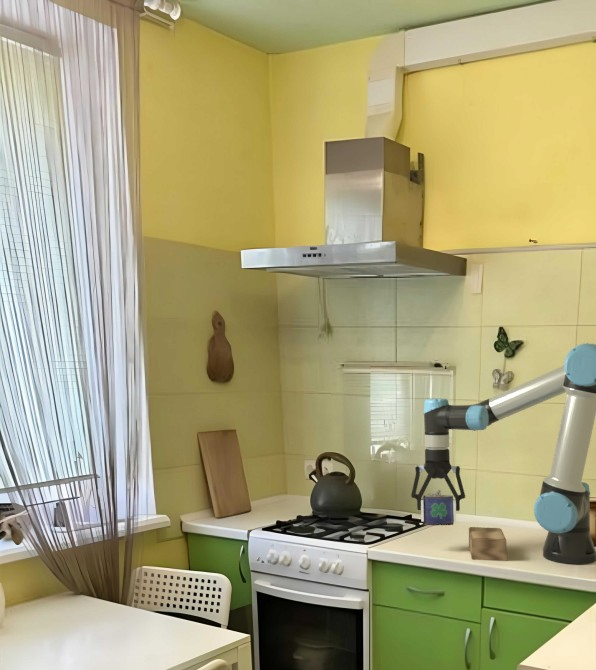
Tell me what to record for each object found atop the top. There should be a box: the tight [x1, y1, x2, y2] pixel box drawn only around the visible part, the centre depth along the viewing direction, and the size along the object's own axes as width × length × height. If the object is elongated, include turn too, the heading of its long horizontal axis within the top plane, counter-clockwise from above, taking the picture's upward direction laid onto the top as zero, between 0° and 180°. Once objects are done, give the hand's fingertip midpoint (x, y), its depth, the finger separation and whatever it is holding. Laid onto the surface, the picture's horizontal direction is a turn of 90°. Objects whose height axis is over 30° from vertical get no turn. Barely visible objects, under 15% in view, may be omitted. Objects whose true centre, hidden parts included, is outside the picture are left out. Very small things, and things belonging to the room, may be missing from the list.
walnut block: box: [468, 526, 508, 562], centre depth 231 cm, size 10×16×6 cm, turn 170°
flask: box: [422, 489, 455, 526], centre depth 234 cm, size 9×3×11 cm, turn 88°
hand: (438, 521), depth 234 cm, fingers closed on flask, 9 cm apart
